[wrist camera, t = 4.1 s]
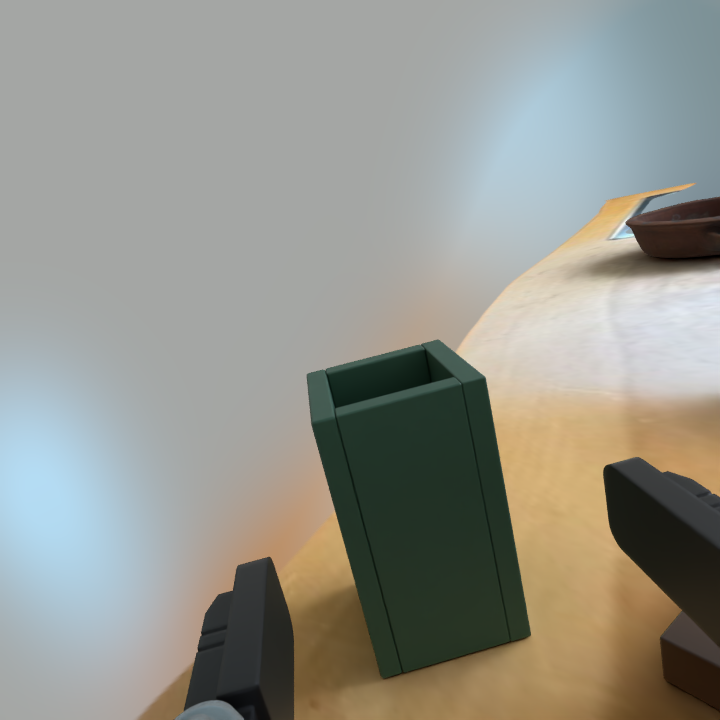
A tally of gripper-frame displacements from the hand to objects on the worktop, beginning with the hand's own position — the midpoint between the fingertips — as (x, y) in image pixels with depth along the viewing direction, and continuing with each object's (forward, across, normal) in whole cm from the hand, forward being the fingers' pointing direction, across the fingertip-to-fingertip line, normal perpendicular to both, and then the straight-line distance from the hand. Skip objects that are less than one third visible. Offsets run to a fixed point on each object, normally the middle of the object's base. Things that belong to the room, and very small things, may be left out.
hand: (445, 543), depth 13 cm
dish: (+49, -46, +7) cm, 67 cm away
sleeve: (+6, 0, +6) cm, 9 cm away
